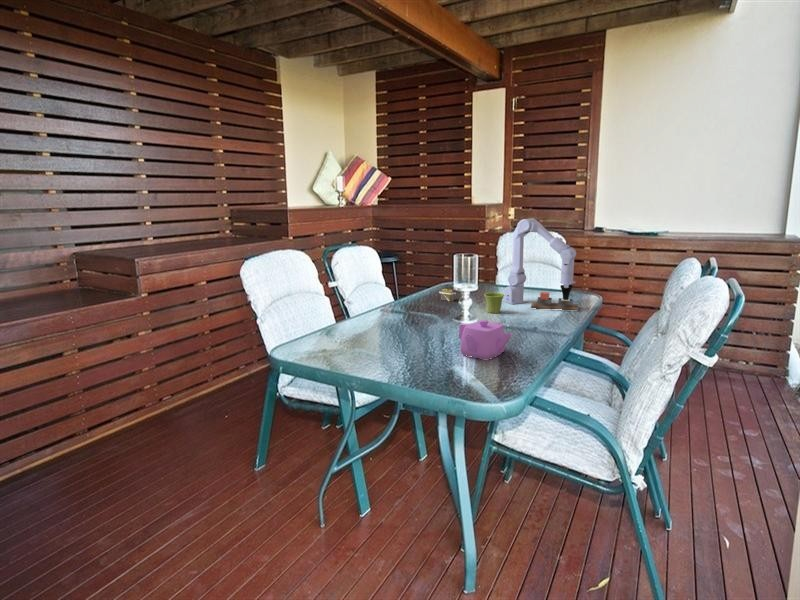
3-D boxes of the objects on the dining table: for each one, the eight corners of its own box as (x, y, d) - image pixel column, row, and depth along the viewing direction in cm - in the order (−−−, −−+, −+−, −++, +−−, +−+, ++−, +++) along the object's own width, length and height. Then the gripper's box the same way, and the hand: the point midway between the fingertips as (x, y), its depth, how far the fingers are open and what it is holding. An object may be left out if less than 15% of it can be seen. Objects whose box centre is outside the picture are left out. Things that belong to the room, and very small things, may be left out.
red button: (549, 298, 254) (549, 292, 253) (548, 299, 250) (549, 293, 249) (540, 297, 255) (540, 291, 254) (540, 299, 251) (540, 293, 251)
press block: (577, 307, 253) (578, 298, 252) (577, 312, 243) (578, 302, 242) (532, 304, 260) (533, 295, 259) (530, 308, 250) (531, 300, 249)
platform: (455, 305, 261) (455, 293, 260) (426, 301, 272) (426, 289, 270) (466, 301, 271) (466, 289, 269) (438, 297, 281) (438, 286, 280)
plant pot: (507, 313, 242) (508, 295, 240) (490, 315, 238) (491, 297, 236) (496, 309, 250) (497, 292, 248) (480, 311, 247) (480, 293, 245)
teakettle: (498, 345, 191) (499, 314, 189) (513, 360, 175) (514, 325, 172) (454, 347, 189) (454, 315, 187) (465, 362, 173) (466, 327, 170)
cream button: (569, 304, 251) (570, 299, 250) (569, 306, 247) (570, 300, 247) (560, 304, 252) (561, 298, 252) (560, 306, 249) (561, 300, 248)
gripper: (575, 275, 238) (574, 303, 241) (575, 270, 252) (574, 297, 255) (560, 274, 241) (558, 302, 243) (561, 270, 254) (559, 296, 257)
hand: (565, 299), depth 249 cm, fingers closed, pressing on cream button
